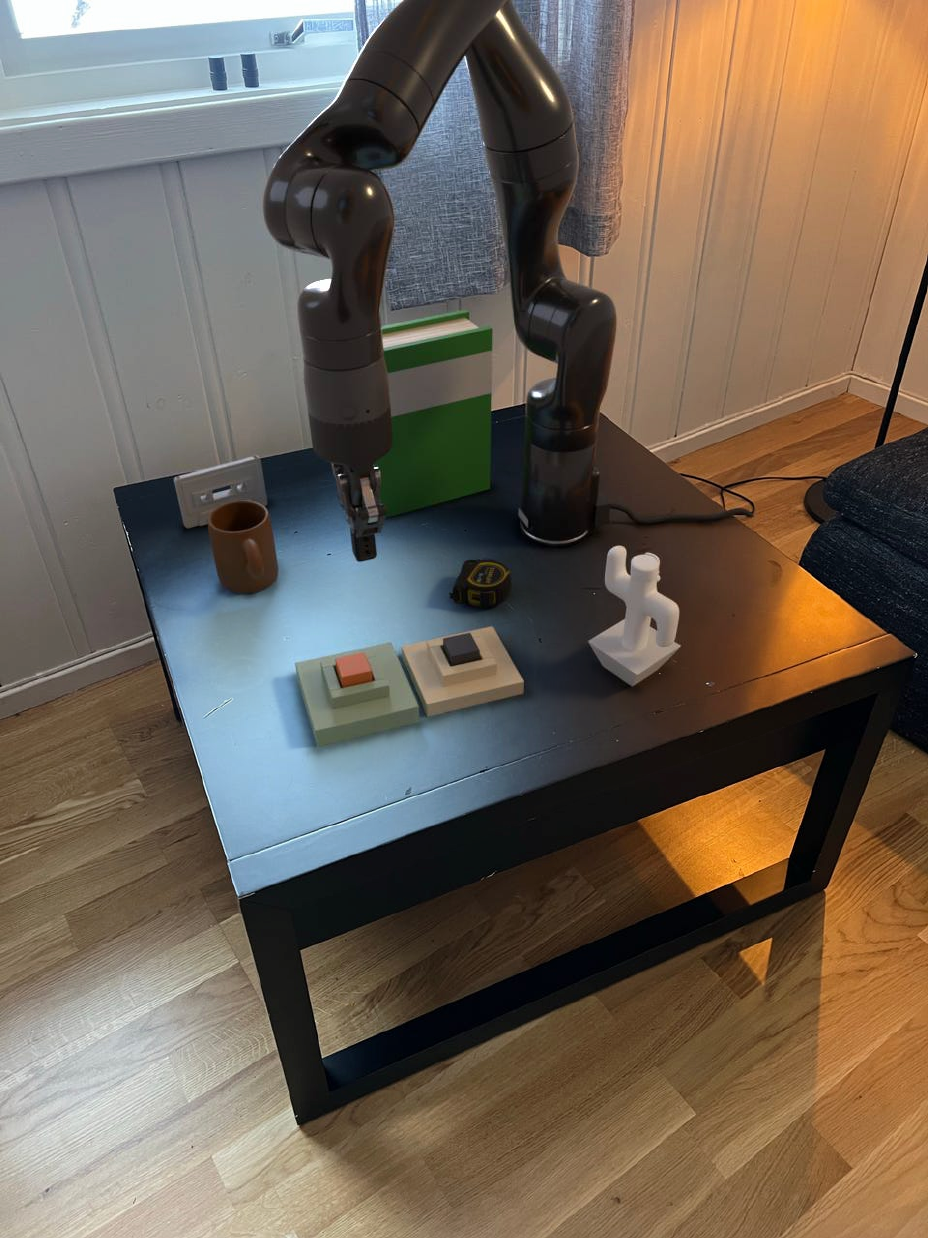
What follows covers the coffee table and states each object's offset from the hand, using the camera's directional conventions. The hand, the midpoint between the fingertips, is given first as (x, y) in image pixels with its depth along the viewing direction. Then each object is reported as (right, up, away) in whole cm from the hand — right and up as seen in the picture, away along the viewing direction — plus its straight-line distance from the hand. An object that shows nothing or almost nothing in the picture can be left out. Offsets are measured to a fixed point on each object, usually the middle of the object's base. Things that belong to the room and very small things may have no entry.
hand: (364, 556), depth 95 cm
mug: (-16, -3, +22) cm, 27 cm away
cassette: (-23, +8, +35) cm, 43 cm away
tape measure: (+12, -4, +20) cm, 24 cm away
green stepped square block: (-2, -15, +6) cm, 16 cm away
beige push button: (+10, -13, +9) cm, 18 cm away
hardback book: (+4, +12, +40) cm, 42 cm away
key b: (-2, -12, +4) cm, 13 cm away
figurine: (+29, -12, +10) cm, 33 cm away
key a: (+10, -10, +7) cm, 16 cm away
